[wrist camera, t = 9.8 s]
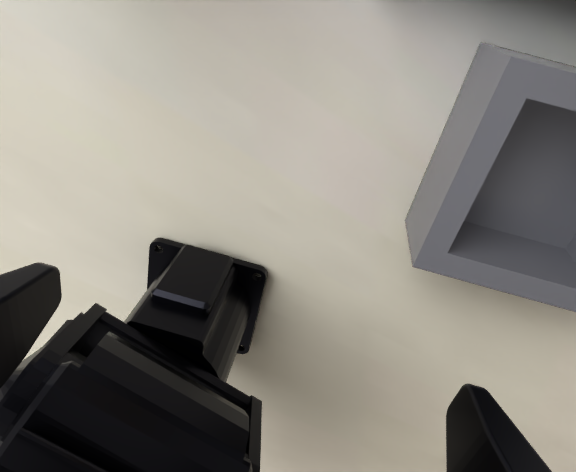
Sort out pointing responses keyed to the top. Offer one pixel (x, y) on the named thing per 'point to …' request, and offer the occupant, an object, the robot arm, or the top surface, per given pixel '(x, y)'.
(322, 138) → the top surface
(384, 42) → the top surface
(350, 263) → the top surface
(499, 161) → the socket
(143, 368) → the robot arm
